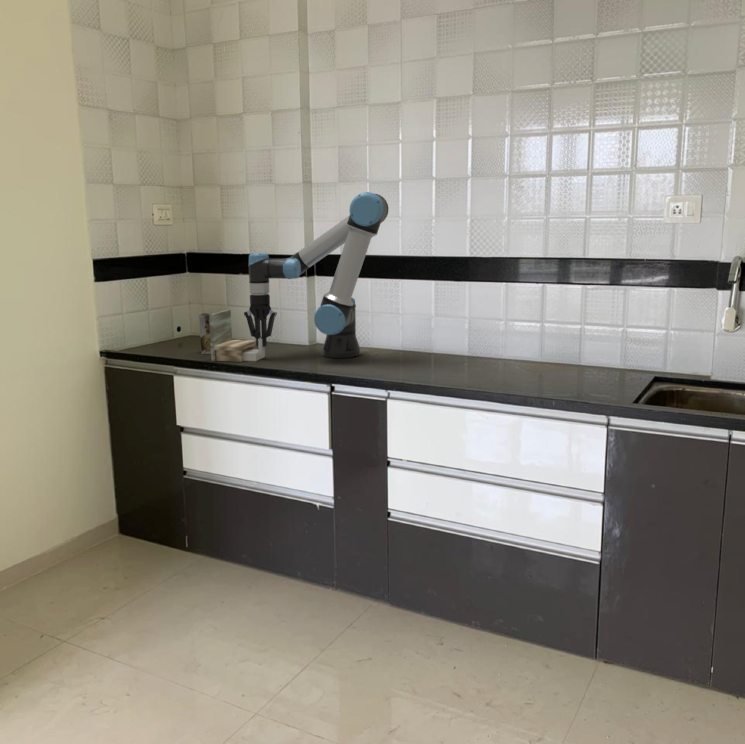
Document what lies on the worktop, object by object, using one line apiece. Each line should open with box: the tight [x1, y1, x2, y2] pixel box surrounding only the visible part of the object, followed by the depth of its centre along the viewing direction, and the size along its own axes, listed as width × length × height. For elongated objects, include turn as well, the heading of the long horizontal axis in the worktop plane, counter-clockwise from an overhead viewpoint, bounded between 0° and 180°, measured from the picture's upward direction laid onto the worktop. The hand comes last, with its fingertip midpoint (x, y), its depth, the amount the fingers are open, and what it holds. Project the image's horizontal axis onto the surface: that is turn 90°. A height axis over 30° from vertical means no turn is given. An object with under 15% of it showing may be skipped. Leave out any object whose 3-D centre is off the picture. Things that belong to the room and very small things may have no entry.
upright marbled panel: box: [209, 309, 256, 363], centre depth 288 cm, size 12×16×18 cm
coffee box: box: [198, 312, 214, 355], centre depth 301 cm, size 9×6×16 cm
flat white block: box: [242, 348, 266, 362], centre depth 288 cm, size 11×9×3 cm
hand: (261, 354), depth 287 cm, fingers closed
